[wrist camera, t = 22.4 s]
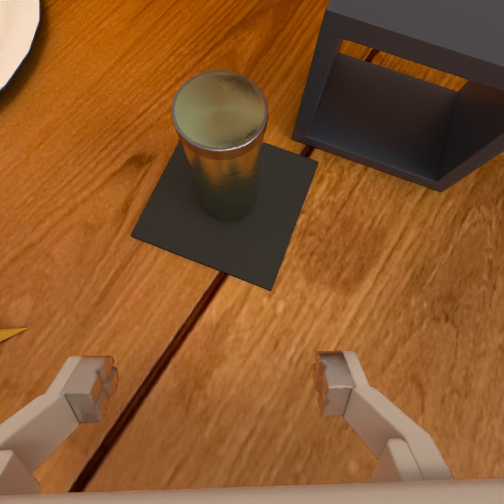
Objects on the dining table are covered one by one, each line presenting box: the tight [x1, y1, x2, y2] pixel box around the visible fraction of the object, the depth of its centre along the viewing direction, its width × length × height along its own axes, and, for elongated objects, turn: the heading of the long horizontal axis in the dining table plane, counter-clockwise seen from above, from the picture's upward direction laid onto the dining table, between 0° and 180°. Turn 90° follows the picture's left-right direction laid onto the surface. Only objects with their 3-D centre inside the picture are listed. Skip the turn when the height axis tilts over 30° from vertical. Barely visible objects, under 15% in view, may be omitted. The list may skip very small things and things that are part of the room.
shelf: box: [292, 0, 504, 192], centre depth 21 cm, size 14×10×11 cm
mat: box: [131, 140, 318, 291], centre depth 24 cm, size 12×12×1 cm
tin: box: [171, 70, 268, 222], centre depth 19 cm, size 5×5×10 cm
